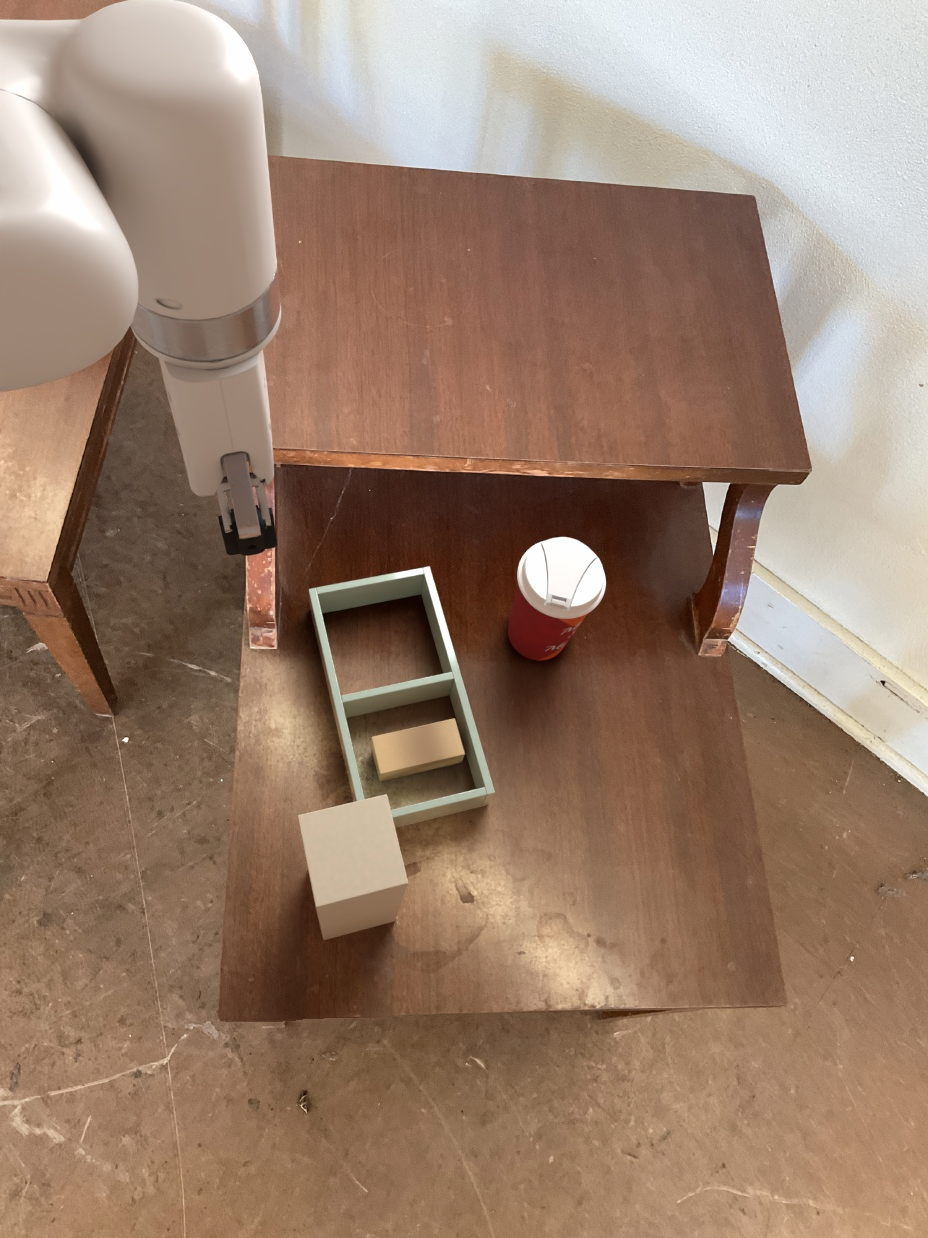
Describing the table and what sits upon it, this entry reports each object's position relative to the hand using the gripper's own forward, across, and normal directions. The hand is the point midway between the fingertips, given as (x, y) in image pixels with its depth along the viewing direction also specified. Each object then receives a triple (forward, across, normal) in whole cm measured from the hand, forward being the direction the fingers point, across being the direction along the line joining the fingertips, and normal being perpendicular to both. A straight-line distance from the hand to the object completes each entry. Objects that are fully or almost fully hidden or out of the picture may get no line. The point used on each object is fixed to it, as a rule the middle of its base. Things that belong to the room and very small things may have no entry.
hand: (239, 484), depth 60 cm
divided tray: (+28, +8, +10) cm, 31 cm away
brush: (+27, +13, +11) cm, 32 cm away
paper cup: (+28, +4, +25) cm, 38 cm away
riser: (+28, +23, +3) cm, 37 cm away
